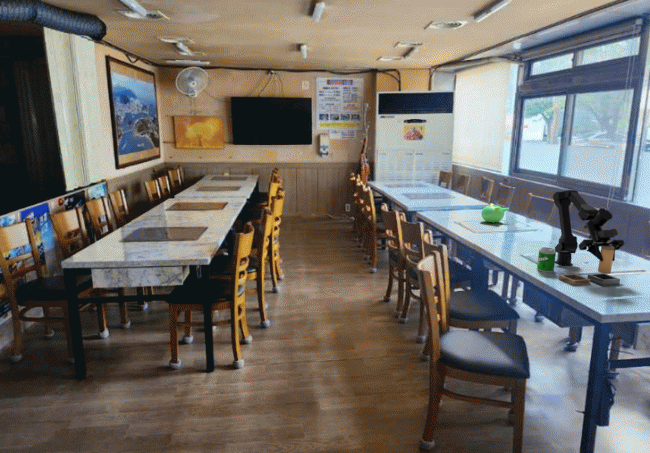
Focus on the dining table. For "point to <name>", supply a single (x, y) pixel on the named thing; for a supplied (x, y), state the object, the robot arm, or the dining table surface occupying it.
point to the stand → (574, 279)
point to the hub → (604, 280)
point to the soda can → (546, 259)
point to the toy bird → (493, 213)
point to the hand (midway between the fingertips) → (607, 260)
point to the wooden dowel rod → (606, 259)
